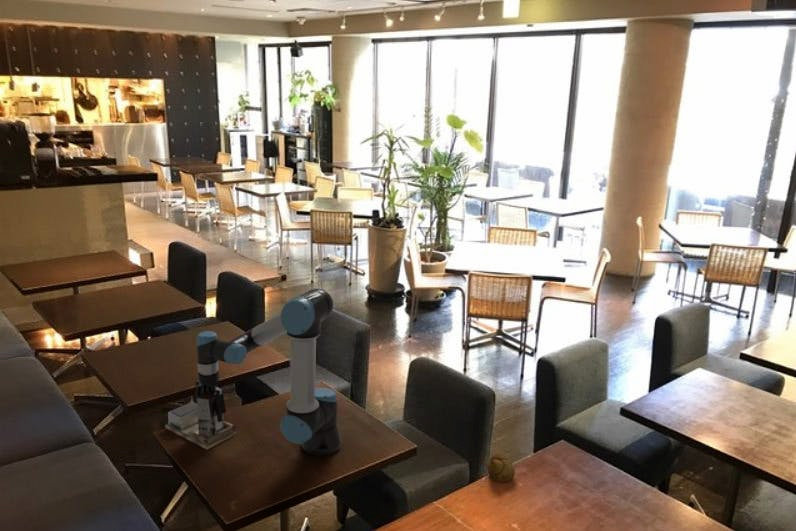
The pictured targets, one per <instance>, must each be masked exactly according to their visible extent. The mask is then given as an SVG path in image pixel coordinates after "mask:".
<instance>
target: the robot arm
mask: <svg viewBox="0 0 796 531" xmlns="http://www.w3.org/2000/svg"><path fill="white" fill-rule="evenodd" d="M333 299H334V298H333V297H332V296H331V294H330V293H329V292H328V291H326V290H325V289H322V288H313V289H310V290H307V291H306V292H305V293H303V294H302V293H301V294H300V295H299V296H295V297H292V298H291V299H290V300H289V301H287V302H286V303H285V304H284V305H283V307H282V308H281V312H280V313H278V314H276V315H275V316H273V317H271V318H269V319H267V320H266V321H265V320H264V322H262V323H260V324H258V325H256V326H255V327H253V328H251V329H249V330H247V331H245V332H244V333H242V334H240V335H238V336H236V337H234V338H231V339H230V340H228V341H226V340H221V339H218V334H217V333H216V332H215V331H212V330H205V331H201V332H200V333H198V334H197V335H196V345H195V346H196V354H197V372H198V373H197V374H198V380H197V381H195V400H194V403H196V404H197V398H198V397H199V396H200V395H201V394H204V393H205V394H208V395H209V397H211V398H213V397H215V396H216V398H215V401H214V409H215V412H216V414H214V415H215V430H218V429H220V428H222V414H223V415H224V414H225V413H227V410H226V404H225V397H224V389H223V388H220V387H219V386H218V382H219V381H220V371H219V362H224V363H227V364H230V365H241V364H243V362H244V360H245V359H246V358H247V354H249V353H251V352H253V351H255V350H256V349H258V348H260V347H261V346H264V345H266V344H267V343H269V342H272V341H273V340H275V339H278V338H279V337H281V336H283V335H285V334H286V335H287V336H288V338H290V339H291V340H290V349H291V350H290V399H289V400H288V401H287V402H286V407H285V408H286V409H285V412H286V413H285V414H286V415H285V416H283V417H282V419H281V421H280V424H279V428H280V432H281V434H282V436H284V438H286V439H287V441H289V442H291V443H293V444H295V445H296V444H297V445H301V448H302V450H303V451H304V452H306V454H308V455H312V456H317V457H318V456H319V457H321V456H322V457H323V456H329V455H332V454H335V453H336V452H338V451H339V450H340V449H341V447H342V438H341V435H340V433H339V432H340V431H339V428H338V424H337V421H338V398H337V397H338V396H337V392H336V391H335V390H333V389H331V388H328V387H323V386H322V387H318V386H317V387H316V366H317V365H316V362H317V361H316V359H317V356H316V355H317V353H316V351H317V338H319V337H320V336H321V330H322V329H321V328H322V322H323V321H325V320H326V319H327V318H329V317H330V315H332V312H333V310H334V300H333ZM213 394H215V395H213Z"/></svg>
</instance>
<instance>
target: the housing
mask: <svg viewBox="0 0 796 531" xmlns="http://www.w3.org/2000/svg"><path fill="white" fill-rule="evenodd" d="M167 416H168V417H167V418H168V420H167V421H168V424H170V425H172V426H174V427H176V428H178V429H180V430H182V429H184V428H186V427H188V426H190V425H193V424H195V423H197V422H198V409H197V404H196V403H195V401H194V402H193V401H191V402H188V403H187V404H184V405H182V406H179V407H177V408H174V409H173V410H170V411H168V412H167Z"/></svg>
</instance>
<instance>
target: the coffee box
mask: <svg viewBox="0 0 796 531" xmlns="http://www.w3.org/2000/svg"><path fill="white" fill-rule="evenodd" d="M213 395H215V394H213ZM215 398H216V396H215V397H213V398H211V397H209V395H208V394H205V393H204V394H201V395H200V396H199V397H198V398H197V409H198V430H199V435H200V436H204V437H210V436H212V435H214V434H216V433H218V432H219V431H220V430H221V429H222V428H223V427H224V421H225V420H224V419H225V418H224V417H225V416H224V414H222V428H220V429H218V430H215V415H214V414H216V412H215V409H214V401H215Z"/></svg>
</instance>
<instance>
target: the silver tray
mask: <svg viewBox="0 0 796 531" xmlns="http://www.w3.org/2000/svg"><path fill="white" fill-rule="evenodd" d="M164 428H165V429H167V430H169V431H171V432H173V433H175V434H176V435H178V436H180V437H182V438H184V439H186V440H188V441H189V442H191V443H193V444H195V445H198V446H199V447H201V448H203V449H205V450H210V449H211V448H213V447H215V446H216V445H219V444H220V443H222V442H224V441H226V440H228V439H230V438H232V437H235V436H236V435H237V431H236V426H235V425H234V424H233V423H230V422H228V421H226V420H224V427H223V428H222V429H221V430H220V431H219V432H218V433H216V434H214V435H212V436H210V437H204V436H200V435H199V430H198V422H197V423H195V424H193V425H190V426H188V427H186V428H184V429H182V430H180V429H178V428H176V427H174V426H172V425H170V424H169V423H166V424H165V427H164Z"/></svg>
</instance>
